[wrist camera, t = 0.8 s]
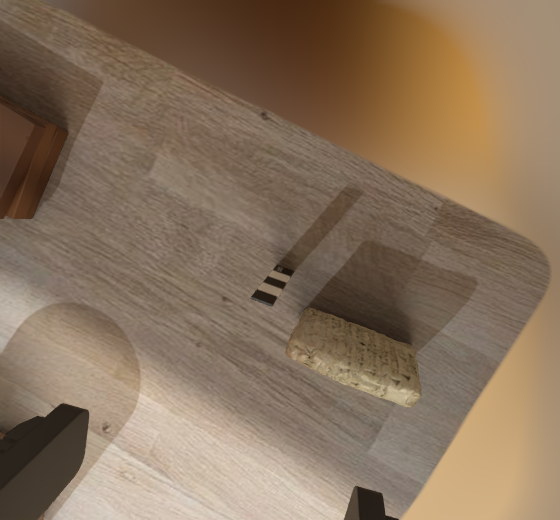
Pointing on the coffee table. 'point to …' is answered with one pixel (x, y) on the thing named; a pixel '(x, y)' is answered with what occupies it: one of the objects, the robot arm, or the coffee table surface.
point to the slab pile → (25, 158)
